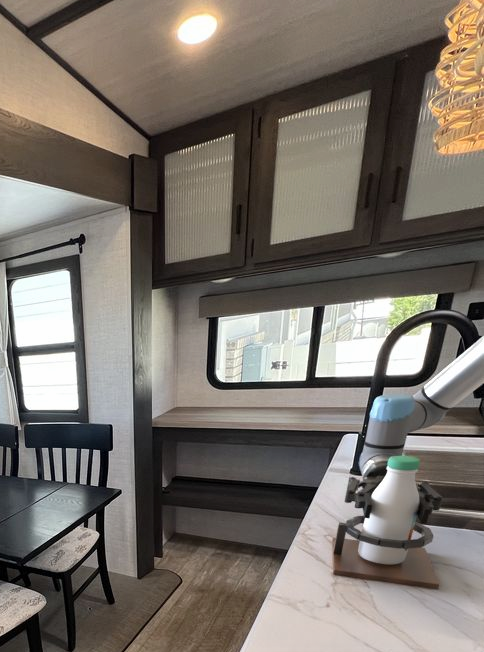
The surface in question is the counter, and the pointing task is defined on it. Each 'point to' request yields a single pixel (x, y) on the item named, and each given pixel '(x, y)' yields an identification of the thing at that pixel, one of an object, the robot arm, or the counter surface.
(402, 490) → the milk bottle
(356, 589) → the counter surface
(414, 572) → the ring holder
